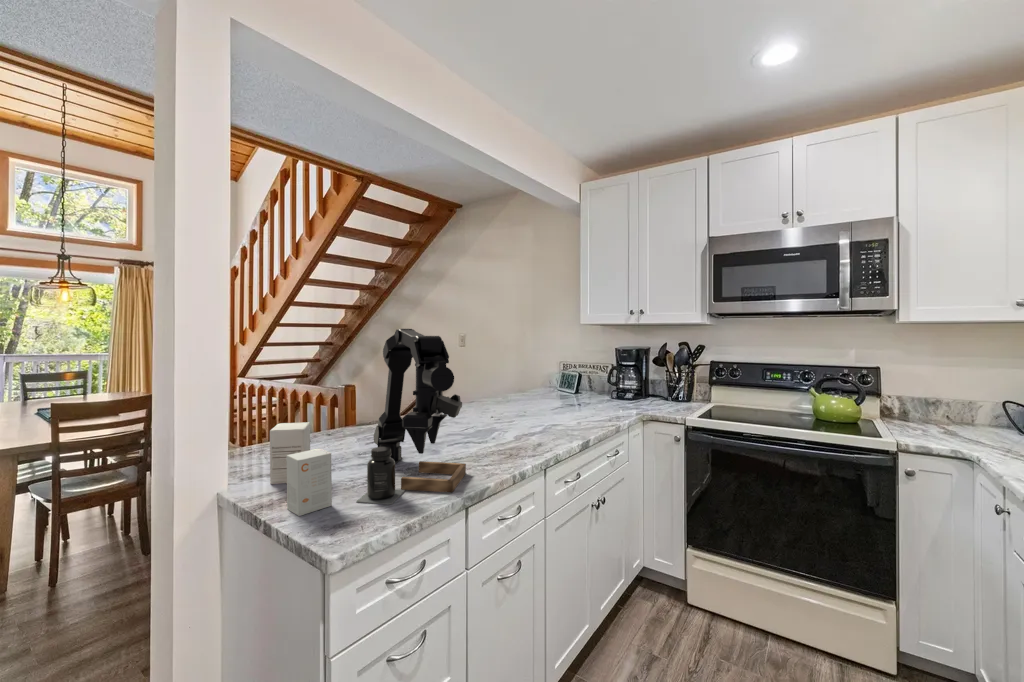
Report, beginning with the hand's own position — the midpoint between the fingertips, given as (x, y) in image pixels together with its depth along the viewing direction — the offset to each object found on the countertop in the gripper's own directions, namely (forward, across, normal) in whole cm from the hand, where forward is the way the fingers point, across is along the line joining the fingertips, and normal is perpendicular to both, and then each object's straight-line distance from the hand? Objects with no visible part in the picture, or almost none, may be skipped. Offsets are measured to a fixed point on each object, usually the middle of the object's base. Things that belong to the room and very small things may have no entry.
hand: (427, 448), depth 110 cm
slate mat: (+13, 0, +12) cm, 18 cm away
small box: (+13, -9, +26) cm, 30 cm away
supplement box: (+13, +9, +43) cm, 46 cm away
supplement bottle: (+13, 0, +12) cm, 18 cm away
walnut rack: (+13, +13, +2) cm, 18 cm away
